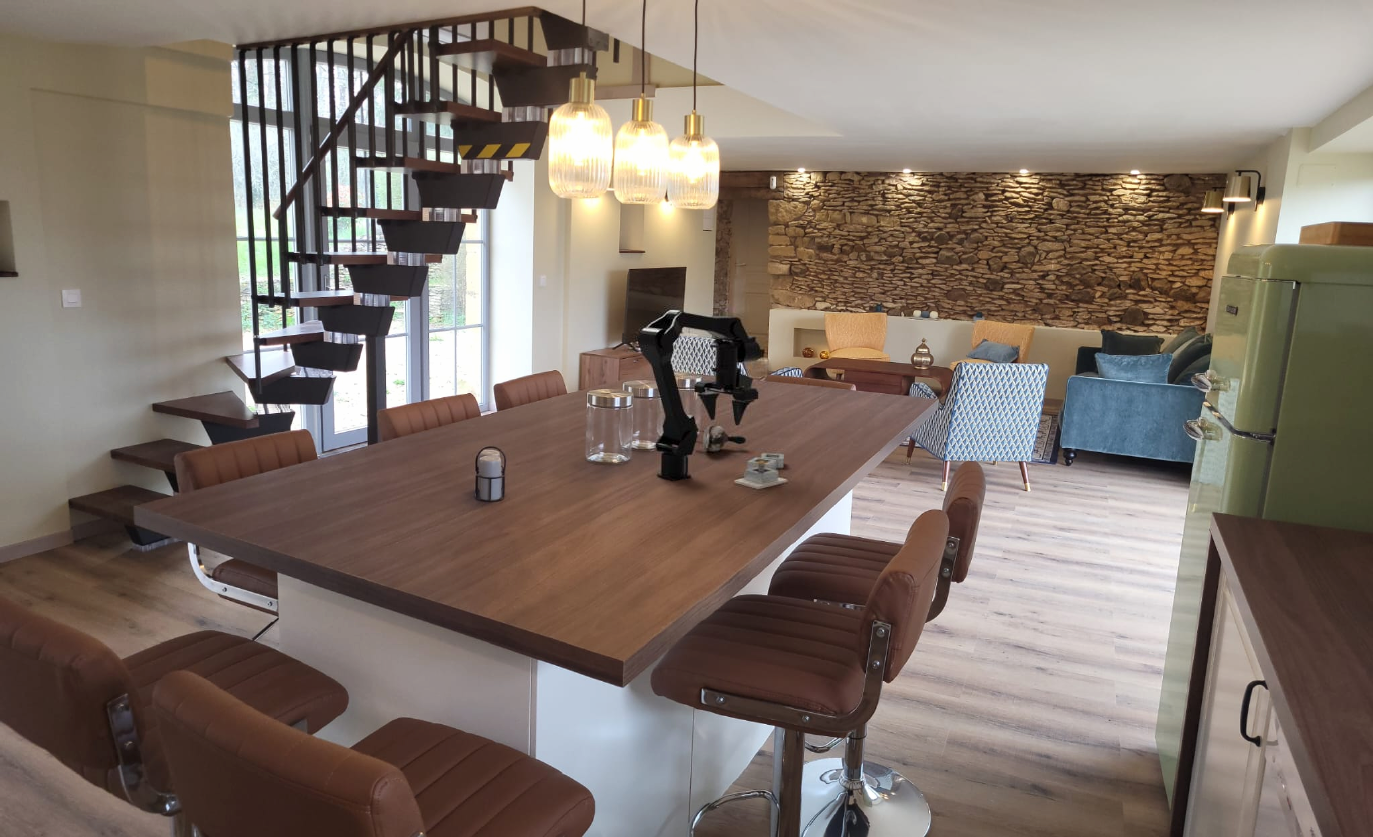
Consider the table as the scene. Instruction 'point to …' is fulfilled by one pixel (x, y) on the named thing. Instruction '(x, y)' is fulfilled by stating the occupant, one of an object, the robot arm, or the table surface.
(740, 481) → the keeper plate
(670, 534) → the table surface
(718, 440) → the decorative duck model
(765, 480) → the end link
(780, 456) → the grey square frame
